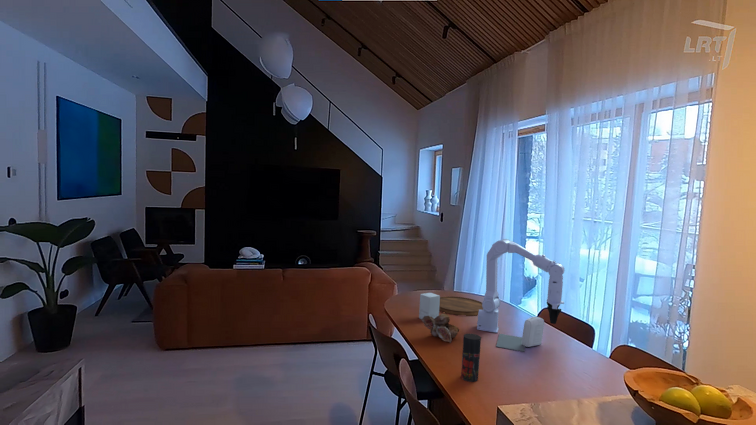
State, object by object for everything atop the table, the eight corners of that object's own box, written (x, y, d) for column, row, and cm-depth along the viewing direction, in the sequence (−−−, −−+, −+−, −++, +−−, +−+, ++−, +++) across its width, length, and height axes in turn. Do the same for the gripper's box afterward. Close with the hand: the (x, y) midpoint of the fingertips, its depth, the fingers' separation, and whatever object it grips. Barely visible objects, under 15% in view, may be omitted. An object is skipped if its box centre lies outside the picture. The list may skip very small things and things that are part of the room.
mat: (496, 347, 176) (496, 346, 176) (499, 334, 192) (499, 333, 192) (524, 352, 172) (524, 351, 172) (525, 338, 188) (525, 338, 188)
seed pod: (417, 316, 191) (425, 316, 176) (450, 308, 194) (460, 308, 179) (424, 345, 188) (433, 347, 174) (457, 337, 191) (468, 339, 177)
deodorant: (458, 374, 148) (461, 333, 147) (474, 374, 149) (477, 333, 148) (463, 381, 142) (466, 339, 141) (480, 382, 143) (483, 339, 142)
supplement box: (439, 320, 208) (440, 295, 207) (428, 322, 204) (429, 297, 203) (429, 316, 214) (430, 292, 213) (418, 318, 210) (419, 293, 209)
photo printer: (534, 341, 185) (538, 314, 184) (542, 344, 181) (546, 317, 180) (519, 344, 179) (523, 316, 178) (527, 348, 176) (532, 320, 175)
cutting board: (477, 321, 212) (477, 316, 211) (420, 308, 228) (421, 304, 228) (495, 307, 239) (495, 302, 238) (443, 297, 255) (443, 292, 255)
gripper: (566, 295, 174) (563, 327, 175) (563, 288, 188) (561, 317, 189) (548, 293, 177) (545, 324, 177) (546, 286, 190) (544, 315, 191)
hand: (552, 320), depth 183 cm, fingers open, 7 cm apart
